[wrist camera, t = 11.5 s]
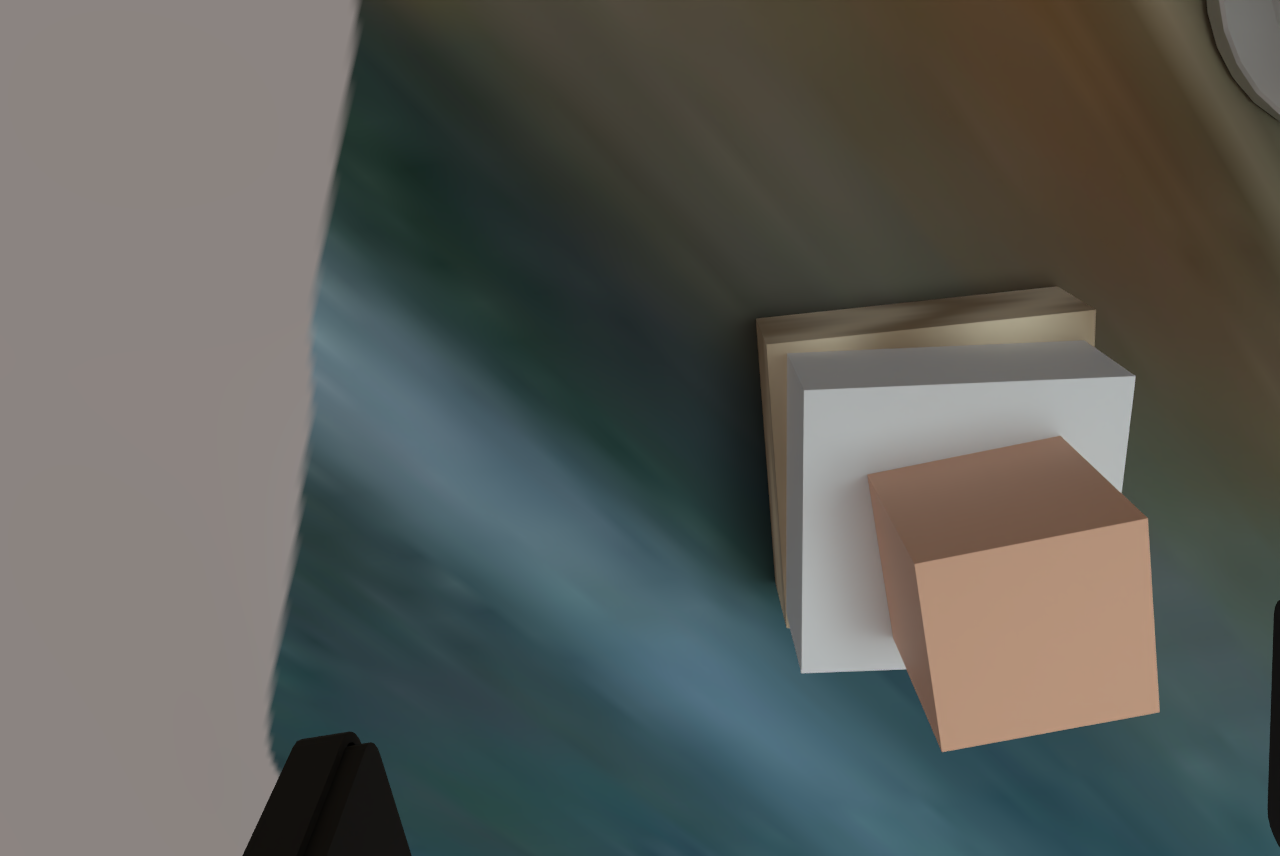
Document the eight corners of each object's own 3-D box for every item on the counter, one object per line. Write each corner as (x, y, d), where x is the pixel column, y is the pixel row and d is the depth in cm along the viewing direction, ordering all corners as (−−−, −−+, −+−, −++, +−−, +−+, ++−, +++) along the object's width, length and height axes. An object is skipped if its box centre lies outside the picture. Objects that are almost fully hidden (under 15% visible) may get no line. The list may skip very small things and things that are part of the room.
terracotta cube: (1060, 435, 33) (1147, 518, 27) (1075, 603, 35) (1159, 712, 29) (867, 474, 33) (914, 564, 28) (892, 638, 36) (942, 752, 30)
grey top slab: (1083, 340, 36) (1135, 376, 32) (1057, 601, 40) (1100, 661, 36) (786, 353, 36) (803, 390, 33) (786, 612, 40) (801, 673, 36)
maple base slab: (1052, 283, 40) (1095, 309, 36) (1046, 550, 43) (1084, 599, 40) (754, 315, 40) (766, 344, 36) (773, 576, 44) (786, 627, 40)
